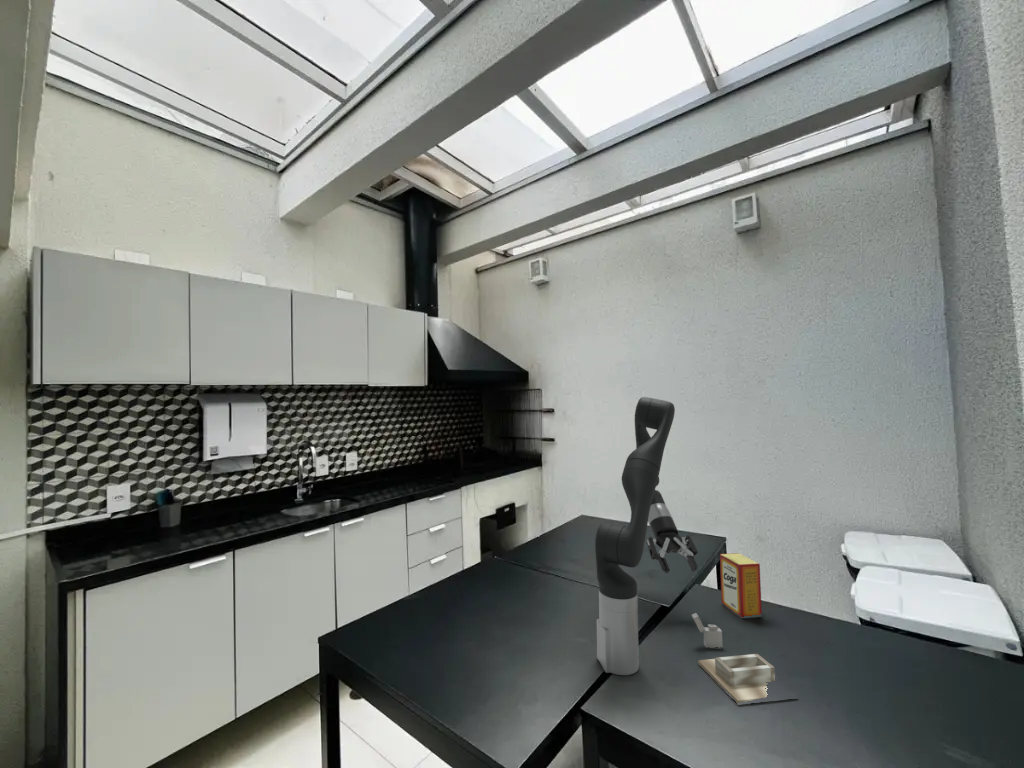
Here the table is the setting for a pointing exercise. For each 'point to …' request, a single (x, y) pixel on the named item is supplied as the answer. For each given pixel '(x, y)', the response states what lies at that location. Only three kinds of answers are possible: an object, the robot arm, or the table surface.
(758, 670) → the holder
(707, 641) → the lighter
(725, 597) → the baking soda box
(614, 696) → the table surface
